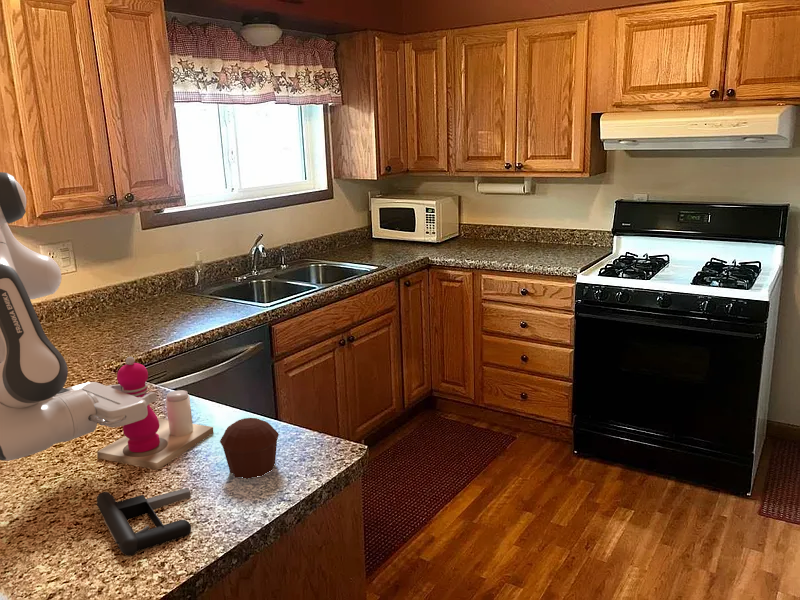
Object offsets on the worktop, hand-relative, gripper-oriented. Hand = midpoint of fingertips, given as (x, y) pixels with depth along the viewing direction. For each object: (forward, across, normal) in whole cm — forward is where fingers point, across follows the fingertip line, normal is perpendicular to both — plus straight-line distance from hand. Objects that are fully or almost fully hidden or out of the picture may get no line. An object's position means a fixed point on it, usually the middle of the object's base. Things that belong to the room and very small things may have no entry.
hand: (141, 390), depth 138 cm
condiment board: (+3, +2, +14) cm, 14 cm away
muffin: (+8, -24, +14) cm, 29 cm away
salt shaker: (+8, 0, +12) cm, 15 cm away
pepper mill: (-1, 0, +12) cm, 13 cm away
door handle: (-15, -23, +15) cm, 31 cm away
